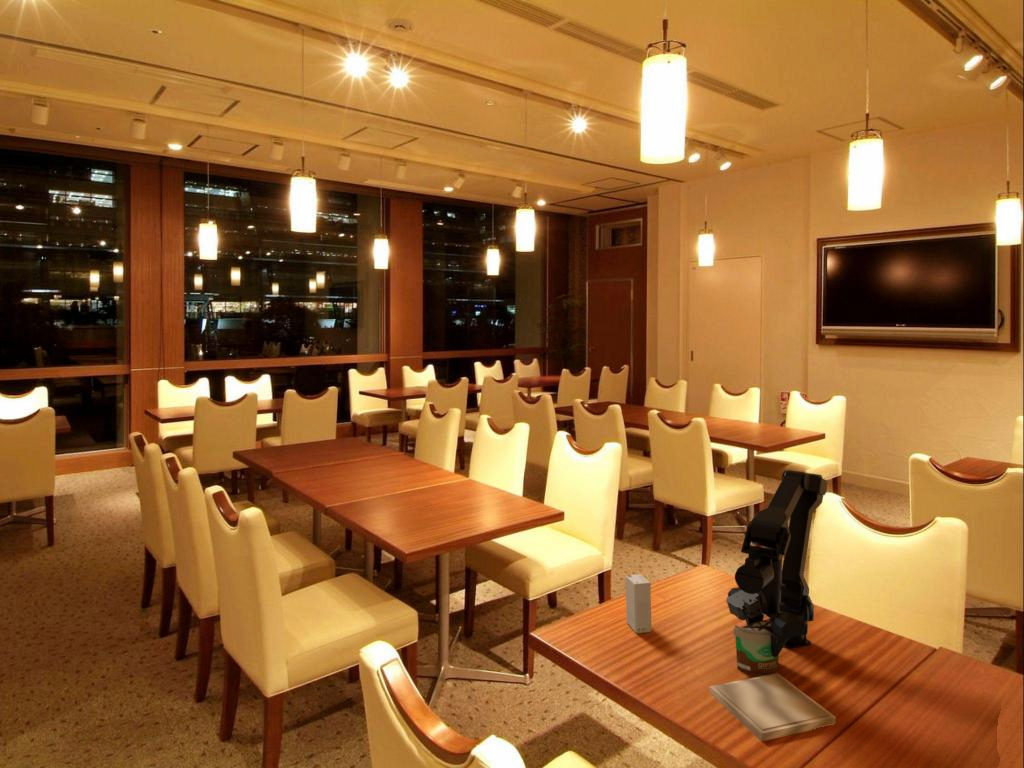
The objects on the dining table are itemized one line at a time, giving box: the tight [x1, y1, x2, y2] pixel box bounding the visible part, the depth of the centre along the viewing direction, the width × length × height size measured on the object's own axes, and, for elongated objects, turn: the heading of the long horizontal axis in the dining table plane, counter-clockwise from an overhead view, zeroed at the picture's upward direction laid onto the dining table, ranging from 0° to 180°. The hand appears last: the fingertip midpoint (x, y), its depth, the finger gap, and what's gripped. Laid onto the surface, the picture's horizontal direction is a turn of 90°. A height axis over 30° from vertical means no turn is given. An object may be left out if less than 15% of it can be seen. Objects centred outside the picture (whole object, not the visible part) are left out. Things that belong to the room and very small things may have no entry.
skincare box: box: [625, 573, 652, 634], centre depth 161 cm, size 6×4×12 cm
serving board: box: [709, 672, 837, 742], centre depth 128 cm, size 16×16×2 cm
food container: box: [732, 618, 780, 676], centre depth 141 cm, size 12×6×10 cm, turn 117°
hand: (764, 649), depth 141 cm, fingers closed on food container, 6 cm apart
